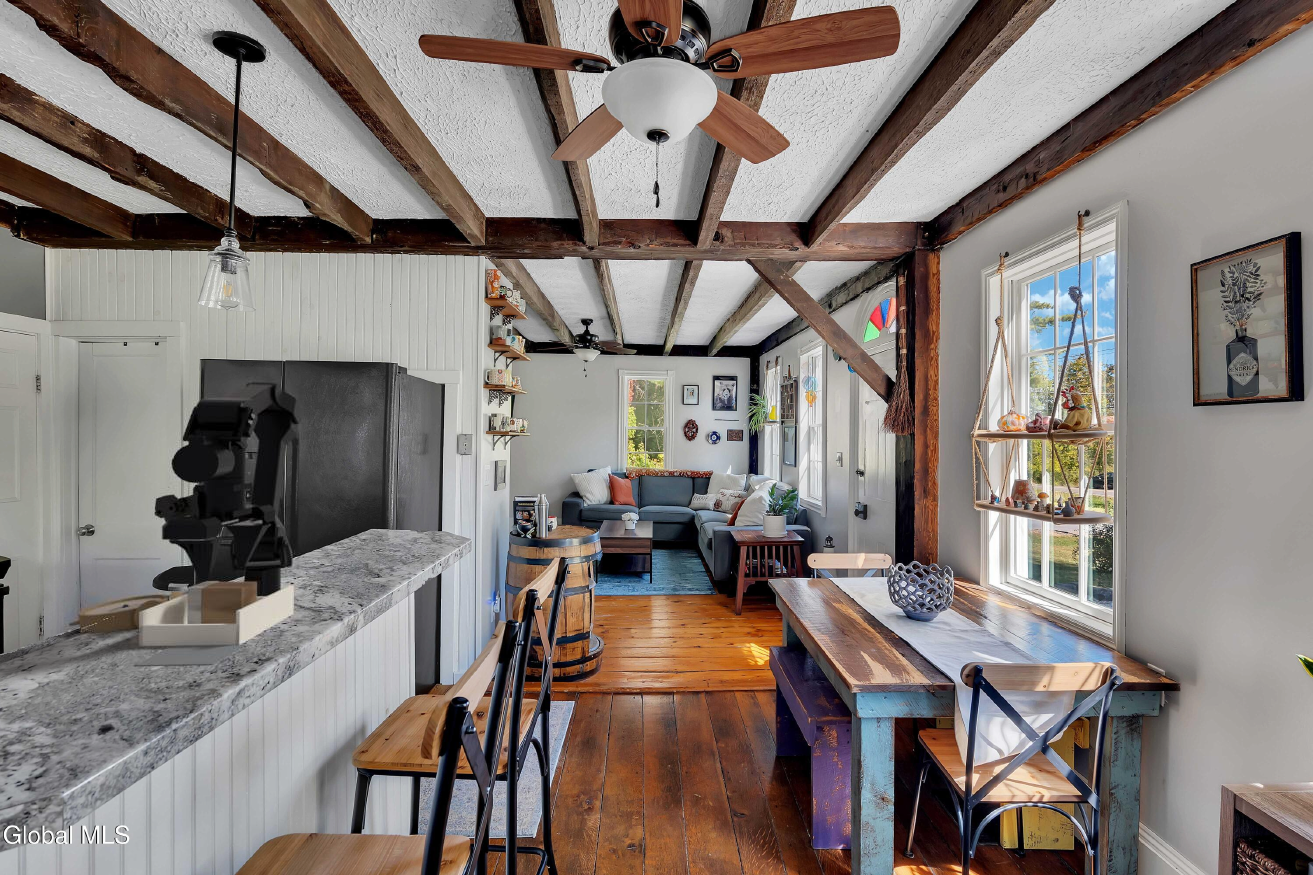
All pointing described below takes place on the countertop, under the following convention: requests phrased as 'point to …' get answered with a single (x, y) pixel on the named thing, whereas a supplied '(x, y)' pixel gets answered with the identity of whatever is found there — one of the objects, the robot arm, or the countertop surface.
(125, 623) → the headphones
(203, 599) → the walnut block
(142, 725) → the countertop surface
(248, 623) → the drawer
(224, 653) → the slate mat
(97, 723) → the countertop surface
